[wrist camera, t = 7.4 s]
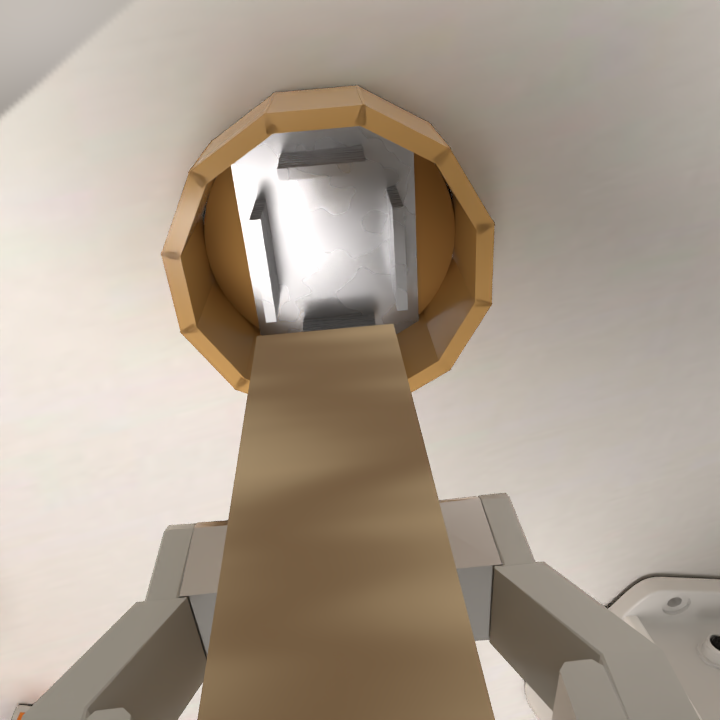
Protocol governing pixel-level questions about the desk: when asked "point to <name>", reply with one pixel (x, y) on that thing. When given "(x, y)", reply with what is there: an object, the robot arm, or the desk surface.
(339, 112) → the bowl
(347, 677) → the tall wooden block
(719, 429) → the desk surface
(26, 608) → the desk surface
